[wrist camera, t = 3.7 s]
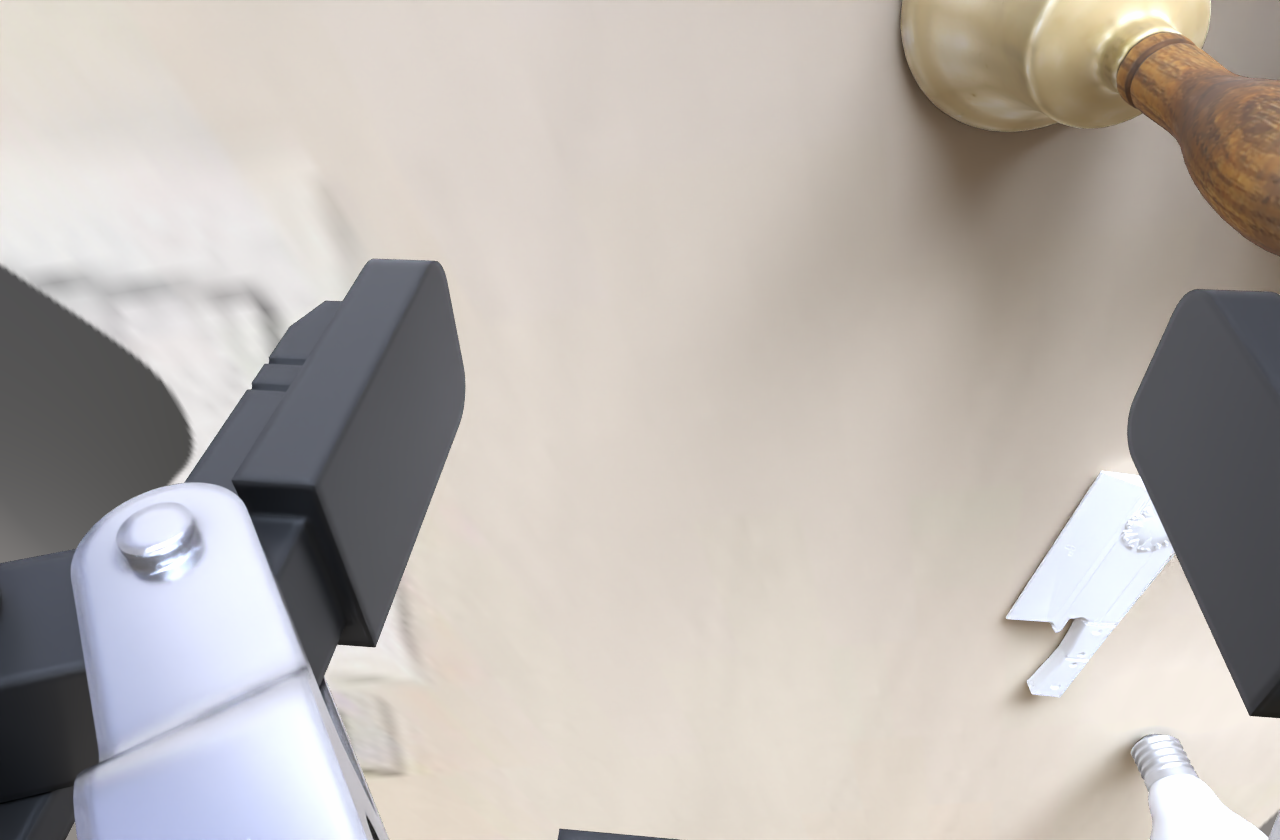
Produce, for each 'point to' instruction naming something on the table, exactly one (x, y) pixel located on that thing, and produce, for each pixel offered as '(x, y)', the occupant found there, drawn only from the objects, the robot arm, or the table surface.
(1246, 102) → the hand bell
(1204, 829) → the lightbulb
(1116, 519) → the white cleaver
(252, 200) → the table surface
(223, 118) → the table surface
